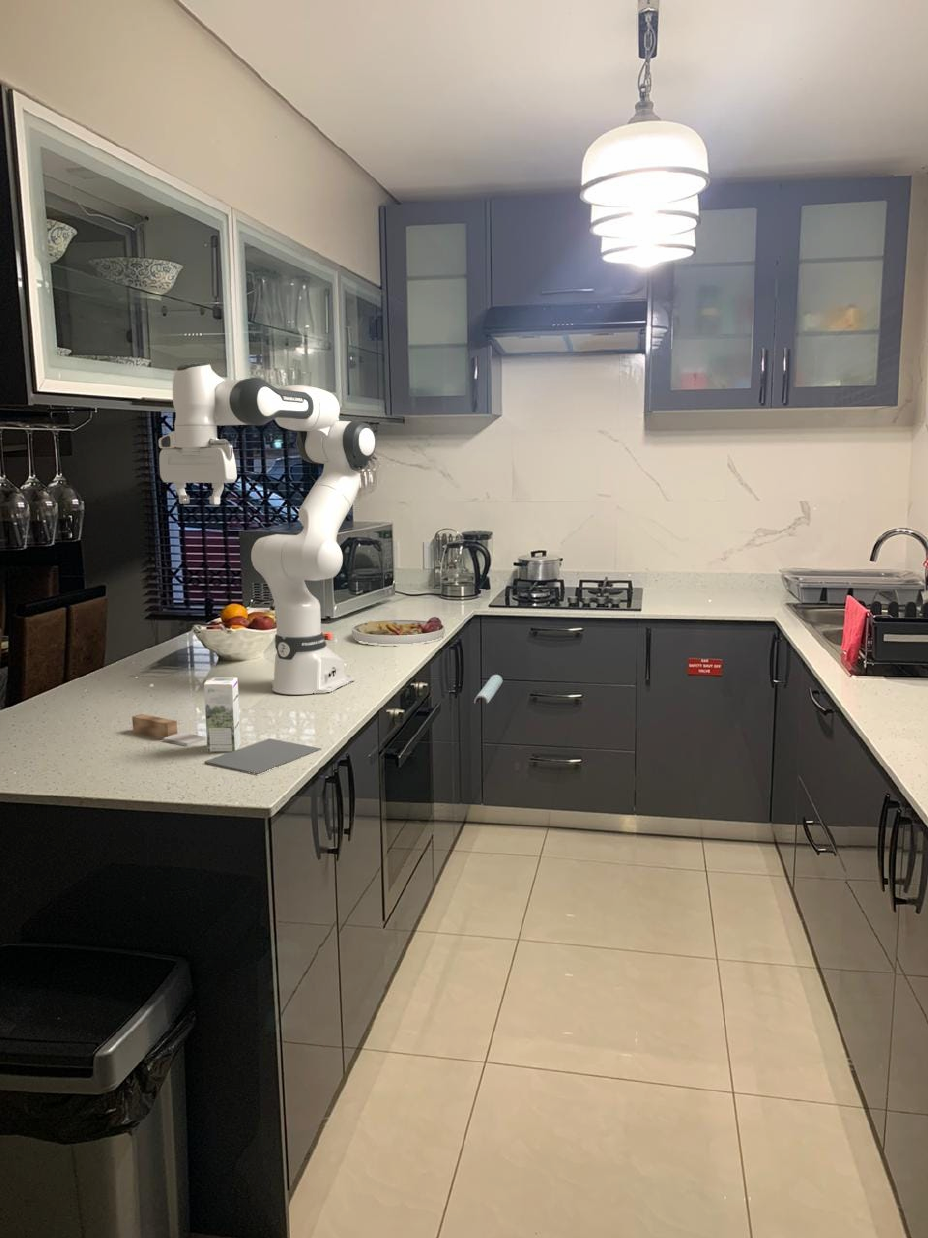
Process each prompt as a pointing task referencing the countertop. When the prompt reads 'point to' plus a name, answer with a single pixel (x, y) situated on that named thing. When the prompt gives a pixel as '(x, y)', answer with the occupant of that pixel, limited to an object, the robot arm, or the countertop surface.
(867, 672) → the countertop surface
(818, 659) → the countertop surface
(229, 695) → the syrup box
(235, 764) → the mat
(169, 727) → the tan wooden bar
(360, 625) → the plate of food
